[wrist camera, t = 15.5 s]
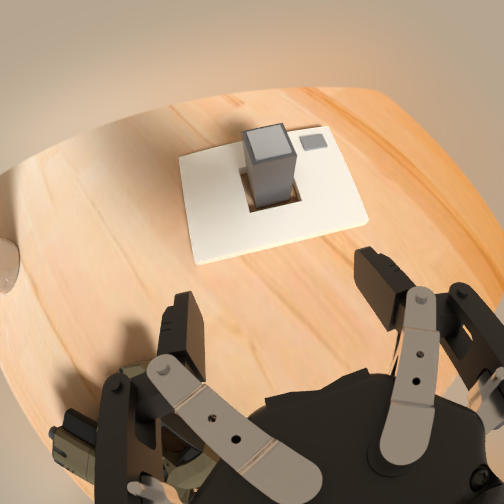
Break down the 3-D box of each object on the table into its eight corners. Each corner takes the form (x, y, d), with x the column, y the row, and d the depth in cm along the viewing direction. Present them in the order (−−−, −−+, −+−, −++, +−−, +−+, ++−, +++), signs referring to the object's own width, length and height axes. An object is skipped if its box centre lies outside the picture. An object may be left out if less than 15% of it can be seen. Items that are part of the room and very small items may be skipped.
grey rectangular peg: (256, 209, 31) (252, 163, 22) (247, 180, 32) (240, 129, 23) (289, 200, 31) (297, 153, 22) (279, 172, 32) (282, 120, 23)
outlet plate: (198, 265, 30) (193, 262, 28) (181, 163, 34) (177, 155, 32) (364, 224, 30) (370, 219, 28) (325, 132, 34) (328, 124, 32)
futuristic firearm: (55, 323, 22) (42, 484, 15) (344, 415, 22) (271, 562, 15) (86, 326, 29) (66, 468, 22) (321, 399, 29) (265, 533, 22)
